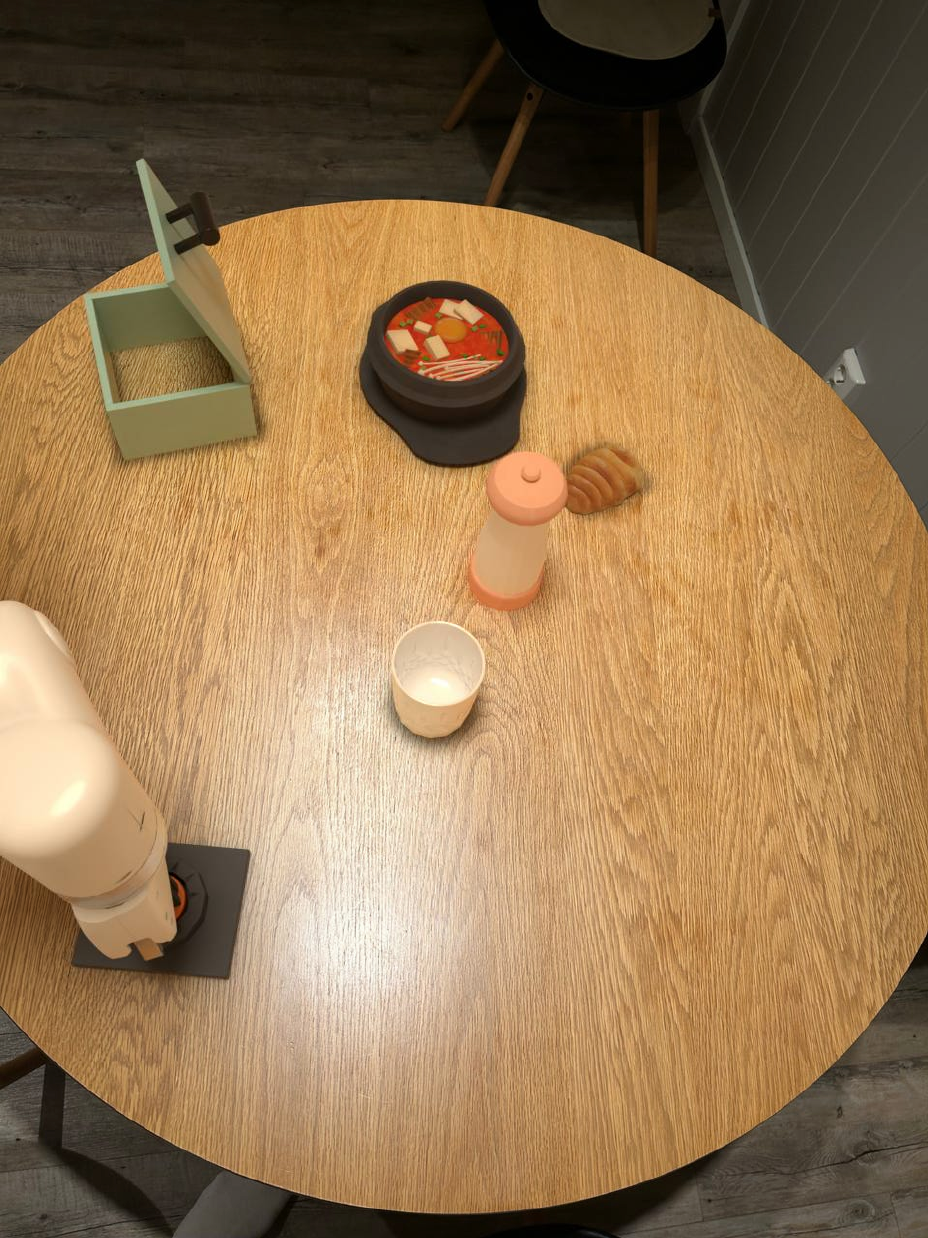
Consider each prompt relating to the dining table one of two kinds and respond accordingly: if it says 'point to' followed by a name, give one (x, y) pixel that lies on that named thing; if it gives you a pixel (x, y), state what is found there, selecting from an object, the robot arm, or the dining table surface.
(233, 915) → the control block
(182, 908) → the button
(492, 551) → the salt shaker
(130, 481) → the dining table surface
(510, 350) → the casserole
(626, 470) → the pastry
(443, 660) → the white cup
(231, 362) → the lid
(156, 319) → the green bottomless box
